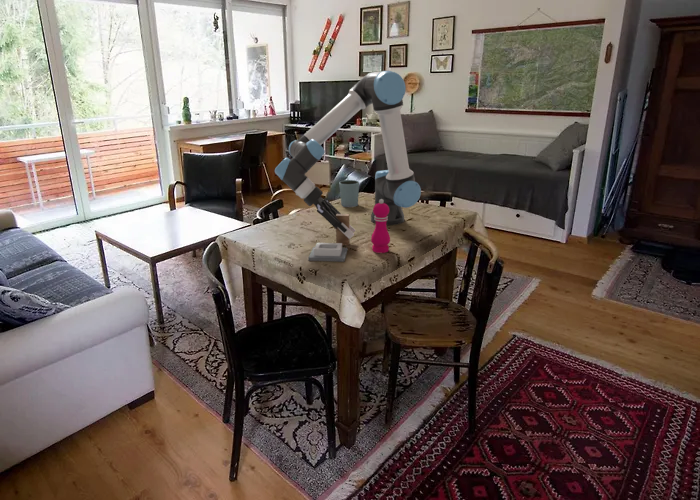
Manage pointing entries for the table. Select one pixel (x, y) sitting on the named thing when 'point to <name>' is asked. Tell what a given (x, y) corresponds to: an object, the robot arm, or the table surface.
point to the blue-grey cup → (349, 193)
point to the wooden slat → (339, 235)
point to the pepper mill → (380, 228)
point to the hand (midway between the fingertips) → (352, 234)
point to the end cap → (328, 252)
